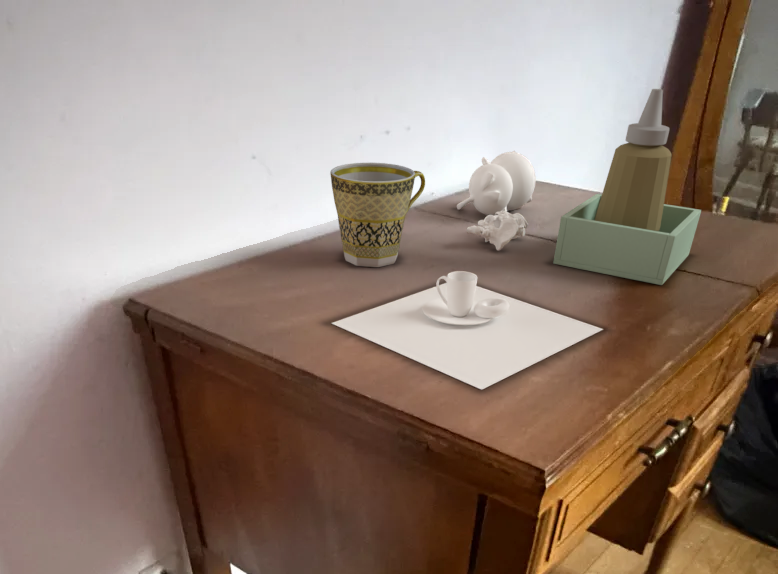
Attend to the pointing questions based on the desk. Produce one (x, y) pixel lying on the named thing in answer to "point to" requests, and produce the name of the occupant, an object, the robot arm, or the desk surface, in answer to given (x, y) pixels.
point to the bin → (625, 243)
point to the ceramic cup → (373, 209)
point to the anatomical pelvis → (500, 228)
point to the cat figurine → (501, 184)
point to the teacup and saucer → (468, 330)
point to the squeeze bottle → (639, 172)
